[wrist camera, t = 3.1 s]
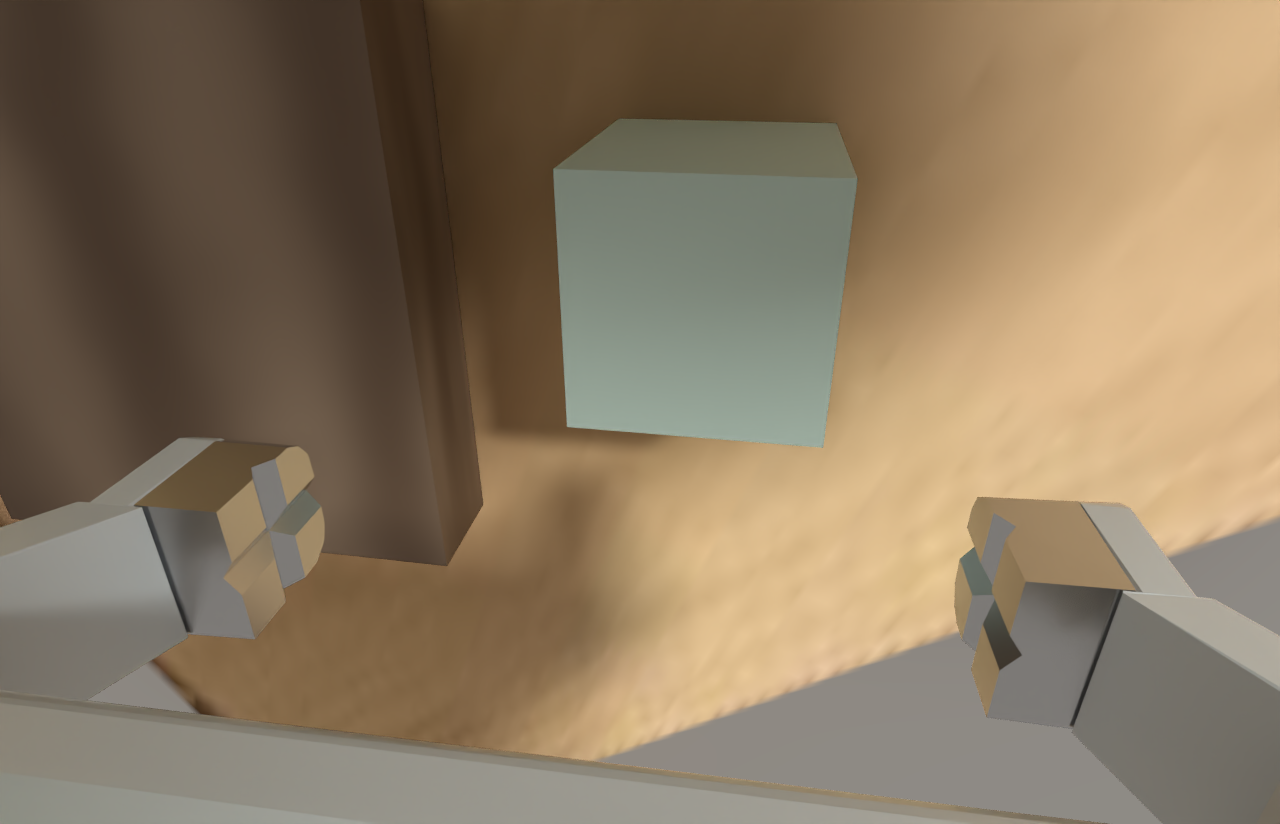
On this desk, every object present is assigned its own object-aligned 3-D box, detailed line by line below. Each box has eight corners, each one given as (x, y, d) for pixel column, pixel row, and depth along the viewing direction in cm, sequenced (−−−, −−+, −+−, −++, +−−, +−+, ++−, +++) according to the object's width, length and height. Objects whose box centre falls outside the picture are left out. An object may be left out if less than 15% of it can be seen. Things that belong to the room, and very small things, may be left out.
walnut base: (422, -2, 18) (359, -1, 15) (483, 504, 24) (446, 565, 22) (-101, -2, 20) (-236, 0, 17) (88, 466, 26) (11, 518, 24)
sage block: (836, 122, 18) (857, 178, 12) (813, 328, 20) (823, 447, 15) (619, 118, 18) (552, 168, 13) (621, 317, 21) (567, 427, 15)
